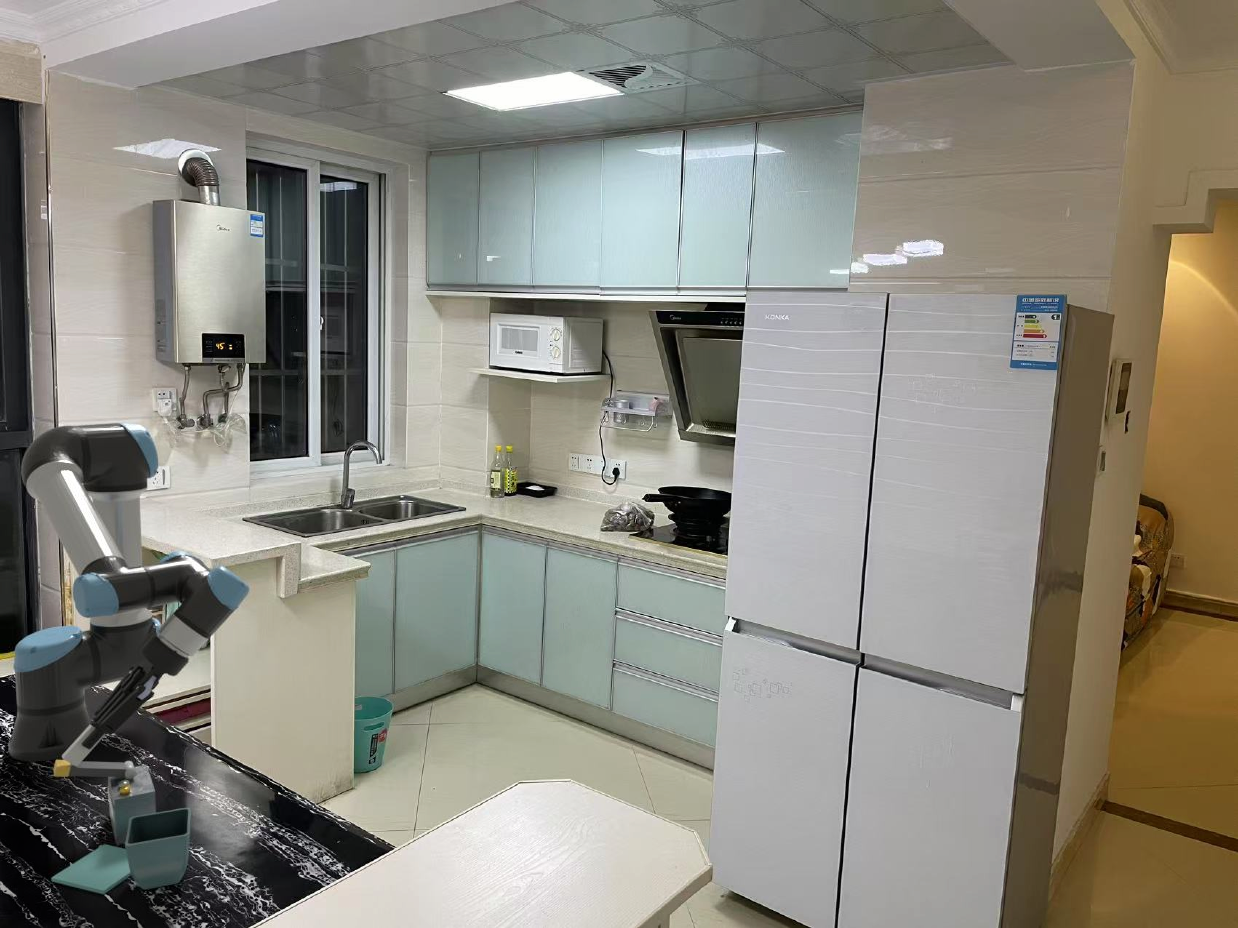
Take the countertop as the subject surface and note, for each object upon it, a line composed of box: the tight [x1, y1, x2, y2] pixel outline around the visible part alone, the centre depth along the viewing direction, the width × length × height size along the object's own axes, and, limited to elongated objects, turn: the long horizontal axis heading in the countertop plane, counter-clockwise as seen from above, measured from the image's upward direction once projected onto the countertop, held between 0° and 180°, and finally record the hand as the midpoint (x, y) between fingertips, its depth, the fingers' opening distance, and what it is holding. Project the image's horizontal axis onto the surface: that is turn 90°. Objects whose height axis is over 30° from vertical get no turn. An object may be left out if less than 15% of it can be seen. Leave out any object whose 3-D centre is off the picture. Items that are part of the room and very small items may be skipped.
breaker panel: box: [106, 764, 157, 846], centre depth 158 cm, size 6×11×9 cm, turn 34°
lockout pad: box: [50, 843, 132, 895], centre depth 145 cm, size 10×10×1 cm
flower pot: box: [124, 807, 192, 890], centre depth 143 cm, size 9×9×9 cm
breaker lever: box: [53, 759, 136, 779], centre depth 156 cm, size 2×4×12 cm
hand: (69, 760), depth 153 cm, fingers closed
